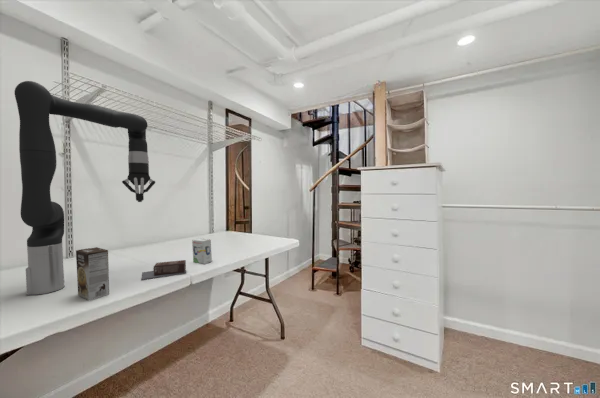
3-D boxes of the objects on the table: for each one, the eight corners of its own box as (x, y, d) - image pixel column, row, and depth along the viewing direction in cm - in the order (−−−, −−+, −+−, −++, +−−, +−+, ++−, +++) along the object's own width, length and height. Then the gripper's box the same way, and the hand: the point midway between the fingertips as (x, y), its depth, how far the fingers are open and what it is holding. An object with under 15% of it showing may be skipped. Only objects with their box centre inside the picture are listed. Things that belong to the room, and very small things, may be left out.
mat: (141, 280, 103) (141, 279, 103) (142, 273, 112) (142, 272, 112) (186, 273, 112) (186, 271, 112) (184, 267, 121) (184, 266, 121)
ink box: (212, 261, 130) (211, 239, 129) (204, 264, 125) (203, 240, 125) (200, 259, 134) (199, 237, 133) (192, 262, 129) (191, 239, 129)
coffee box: (76, 295, 89) (75, 250, 88) (98, 289, 95) (97, 246, 94) (88, 301, 84) (86, 253, 84) (110, 294, 90) (108, 249, 89)
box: (153, 276, 107) (184, 272, 111) (153, 266, 107) (184, 262, 111) (156, 272, 113) (186, 268, 116) (156, 262, 113) (185, 259, 116)
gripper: (119, 161, 105) (120, 202, 105) (155, 162, 111) (157, 201, 112) (121, 162, 111) (122, 202, 112) (155, 164, 118) (156, 201, 118)
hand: (139, 201), depth 112 cm, fingers closed
